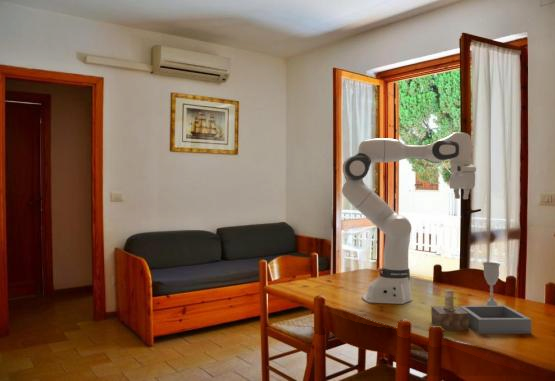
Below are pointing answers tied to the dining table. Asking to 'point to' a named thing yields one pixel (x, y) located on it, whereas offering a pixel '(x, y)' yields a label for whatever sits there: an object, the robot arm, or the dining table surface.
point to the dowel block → (450, 318)
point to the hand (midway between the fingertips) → (461, 198)
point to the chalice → (491, 279)
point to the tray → (497, 320)
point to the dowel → (449, 300)
